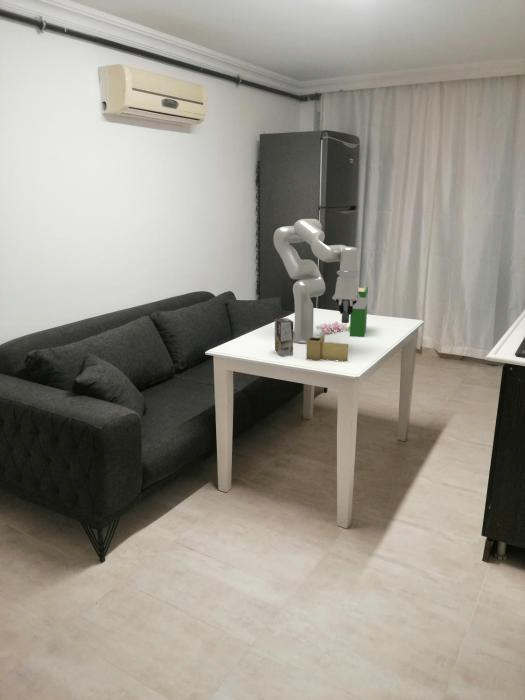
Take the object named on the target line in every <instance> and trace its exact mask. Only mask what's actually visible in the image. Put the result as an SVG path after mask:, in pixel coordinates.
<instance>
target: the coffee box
mask: <svg viewBox="0 0 525 700" xmlns="http://www.w3.org/2000/svg"><path fill="white" fill-rule="evenodd" d="M293 331H294V320H291V319H289V318H287V317H285V318H284V317H283V318H275V319H274V352H275V351H276V352H277V353H278V355H279V356H280V357H286V356H285V355H290V356H294V342H293ZM276 352H275V353H276ZM277 353H276V354H277Z"/></svg>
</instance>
